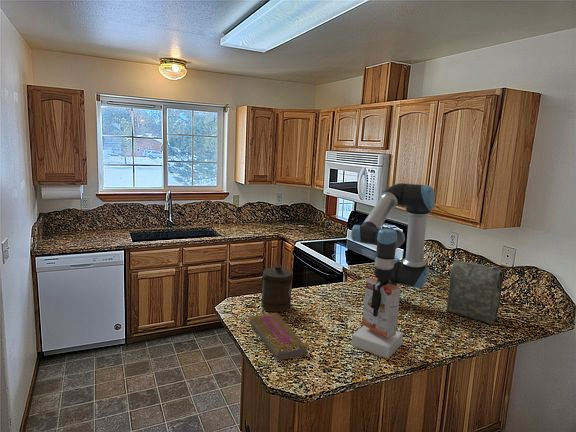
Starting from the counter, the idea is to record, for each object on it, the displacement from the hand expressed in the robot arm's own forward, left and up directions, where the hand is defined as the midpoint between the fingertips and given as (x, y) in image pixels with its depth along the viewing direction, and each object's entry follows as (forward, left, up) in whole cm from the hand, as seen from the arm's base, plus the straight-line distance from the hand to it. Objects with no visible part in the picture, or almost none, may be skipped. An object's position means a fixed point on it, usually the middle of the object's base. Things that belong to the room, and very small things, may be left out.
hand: (379, 319), depth 164 cm
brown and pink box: (-35, -24, -12) cm, 44 cm away
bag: (+24, +62, -11) cm, 67 cm away
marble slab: (0, 0, -12) cm, 12 cm away
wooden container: (-56, +2, -11) cm, 57 cm away
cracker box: (0, 0, -5) cm, 5 cm away
